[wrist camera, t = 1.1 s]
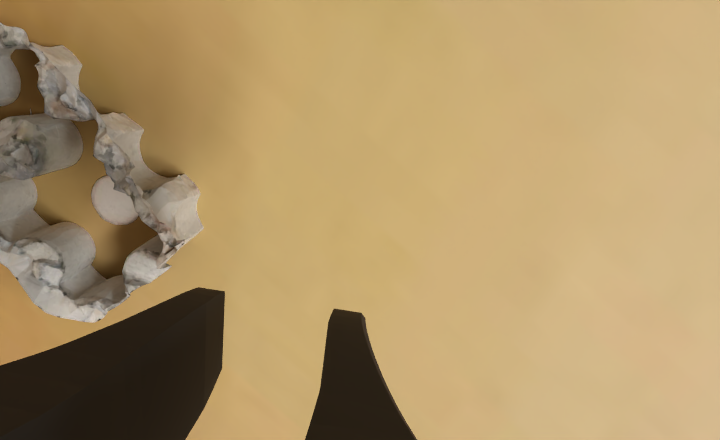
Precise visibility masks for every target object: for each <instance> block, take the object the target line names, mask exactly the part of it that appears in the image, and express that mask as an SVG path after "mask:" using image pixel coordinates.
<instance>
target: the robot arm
mask: <svg viewBox="0 0 720 440" xmlns="http://www.w3.org/2000/svg"><path fill="white" fill-rule="evenodd" d="M224 300H225V292H224V291H218V290H212V289H205V288H199V287H198V288H195V289H192V290H190V291H187V292H185V293H182V294H180V295H178V296H176V297H173V298H171V299H169V300H167V301H164V302H162V303H160V304H158V305H156V306H154V307H151V308H149V309H147V310H145V311H142V312H140V313H138V314H136V315H134V316H131V317H129V318H127V319H125V320H122V321H120V322H118V323H115V324H113V325H111V326H108V327H106V328H103V329H101V330H98V331H96V332H93V333H91V334H88V335H86V336H84V337H81V338H79V339H76V340H74V341H71V342H69V343H66V344H63V345H61V346H58V347H55V348H52V349H50V350H47V351H44V352H41V353H38V354H35V355H32V356H29V357H26V358H23V359H20V360H17V361H13V362H10V363H7V364H4V365H1V366H0V440H185V439H186V437H187V436H188V434H189V432H190V431H191V429H192V428H193V426H194V424H195V423H196V421H197V419H198V418H199V416H200V414H201V413H202V411H203V409H204V407H205V405H206V403H207V401H208V399H209V397H210V394H211V392H212V390H213V388H214V386H215V383H216V381H217V379H218V376H219V374H220V372H221V370H222V354H223V327H224ZM305 440H417V439H416V437H415V436H414V434H413V432H412V431H411V429H410V428H409V426H408V424H407V423H406V421H405V419H404V418H403V416H402V414H401V412H400V411H399V409H398V407H397V405H396V403H395V401H394V399H393V397H392V395H391V393H390V391H389V389H388V387H387V385H386V383H385V381H384V378H383V376H382V374H381V371H380V369H379V366H378V364H377V361H376V359H375V356H374V353H373V350H372V347H371V344H370V341H369V337H368V334H367V329H366V323H365V317H364V316H363V315H362V313H358V312H352V311H345V310H339V309H334V310H333V312H332V314H331V317H330V319H329V322H328V330H327V338H326V346H325V354H324V363H323V371H322V379H321V387H320V392H319V395H318V399H317V402H316V406H315V409H314V412H313V416H312V419H311V422H310V426H309V429H308V432H307V435H306V438H305Z"/></svg>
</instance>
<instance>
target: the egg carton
mask: <svg viewBox="0 0 720 440" xmlns="http://www.w3.org/2000/svg"><path fill="white" fill-rule="evenodd" d="M15 49H25V50H32V51H34V52H35V54H36V55H37V57H38V58H39V60H40V62H38V63H37V64H35V67H36V69H37V71H38V74H39V78H38V83H37V87H38V89H39V91H40V93H41V94H42V96H43V98H44V104H45V105H44V113H42V114H32V113H31V108H30V115H21V116H12V117H7V118H5V119H3V120H1V121H0V263H2V264H3V265H4V266H6V267H7V268H8V269H9V270H10V271H11V272H12V274H13V275H14V276H15V277H16V278H17V280H18V281H19V283H20V284H21V286H22V287H23V289H24V290H25V292H26V293H27V294H28V296H29V297H30V299H31V300H32V302H33V303H34V304H35V305H37V306H38V307H39V308H41V309H42V310H43V311H44V312H46V313H48V314H51V315H54V316H57V317H61V318H66V319H72V320H77V321H83V322H96V321H99V320H101V319H102V318H103V317H105V315H106V314H107V312H108V311H109V310H111V309H113V308H115V307H117V306H118V305H119V304H121V303H122V302H124V301H125V300H126V299H127V298H128V297H129V296H130V293H131V292H132V291H134V290H135V289H137V288H139V287H140V286H142V285H145V284H148V283H151V282H152V281H153V280H154V279H156V278H157V277H159V276H160V275H161V274H163V273H164V272H165V271H167V270H168V269H169V268H170V267H171V265H168V264H166V262H167V261H168V260H169V259H170V258H171V257H172V256H173V255H174V254H175V253H176V252H177V251H178V250H179V249H180V248H181V247H182V246H183V245H185V244H186V243H187V242H188V241H189V240H191V239H192V238H193V237H195V236H196V235H197V234H198V233H199V232H201V231H202V230H203V229H204V228H203V225H202V223H201V221H200V219H199V217H198V214H197V200H198V198H199V196H200V191H199V189H198V187H197V186H196V185H195V183H194V182H193V181H192V180H191V179H190V178H188V177H187V176H186V175H185V174H183V175H181V176H180V175H178V176H177V177H170V178H166V177H163V176H160V175H158V174H156V173H155V172H153V171H152V170H151V169H149V168H148V167H147V165H146V164H145V163H144V161H143V159H142V156H141V152H140V139H141V136H142V134H143V132H144V129H143V128H142V127H141V126H140V125H138V124H137V123H136V122H134V121H133V120H132V119H130V118H129V117H128V116H127V115H126V114H125V113H121V114H119V113H115V112H112V113H108V114H103V115H102V114H100V113H98V112H97V111H96V109H95V107H94V106H93V104H92V102H91V101H90V100H89V99H88V98H87V97H86V96H85V95H84V94H83V93H82V92H81V91H80V90H79V84H78V82H79V73H80V70H81V68H82V64H81V63H80V61H79V60H78V59H77V57H76V56H75V55H74V54H73V53H72V52H71V51H70V50H69V49H67V48H66V47H65V46H63V45H59V46H53V47H45V46H40V45H38V44H36V43H33V42H31V43H30V42H29V39H28V36H27V33H26V32H25V31H24V30H23V29H21V28H19V27H9V26H5V25H3V24H2V23H0V106H6V105H8V104H11V103H13V102H14V101H15V100H16V99H17V98H18V96H19V93H20V89H21V80H20V76H19V72H18V70H17V68H16V66H15V65H14V63H13V62H12V60H11V58H10V56H11V54H12V53H13V51H15ZM94 119H95V120H96V122H97V123H98V131H97V134H96V137H95V142H94V154H93V156H94V157H95V158H96V159H98V160H100V161H102V162H103V163H104V166H105V170H106V174H107V176H103V177H101V178H100V179H98V180H97V181H96V183H95V184H94V186H93V188H92V193H91V197H92V204H93V205H94V207H95V209H96V211H97V212H98V214H99V215H100V217H101V218H102V219H104V220H105V221H107V222H110V223H112V224H115V225H127V224H130V223H132V222H133V221H135V220H136V219H137V218H138V216H139V217H140V218H141V220H142V221H143V222H144V223H145V224H146V225H148V226H149V227H150V228H151V229H153V230H155V231H156V232H157V233H158V235H157V236H155V237H153V238H152V239H150V240H149V241H147V242H146V243H144V244H143V245H141V246H140V247H138V248H137V249H135V250H133V251H132V252H131V253H130V254H129V255H128V257H127V258H126V260H125V264H124V267H123V270H122V273H123V275H118V276H114V277H112V278H110V279H105V278H104V277H103V276H102V275H101V274H99V273H98V272H97V271H96V270H95V269H94V267H93V266H92V265H91V263H92V262H93V260H94V259H95V254H96V247H95V244H94V241H93V239H92V237H91V236H90V234H89V233H88V232H87V231H86V230H85V229H84V228H82V227H81V226H79V225H77V224H75V223H71V222H60V223H57V224H54V225H51V226H50V225H49V224H47V223H46V222H45V221H44V220H43V219H42V218H41V217H40V216H39V215H38V214H37V213H36V212H35V211H34V207H35V205H36V202H37V189H36V186H35V183H34V181H33V180H32V179H31V178H32V177H36V176H40V175H43V174H47V173H50V172H53V171H57V170H60V169H64V168H68V167H70V166H72V165H74V164H75V163H77V161H78V160H79V159H80V157H81V155H82V152H83V141H82V138H81V135H80V133H79V130H78V129H77V127H76V126H75V125H74V124H73V123H72V121H71V120H74V121H89V120H94Z"/></svg>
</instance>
